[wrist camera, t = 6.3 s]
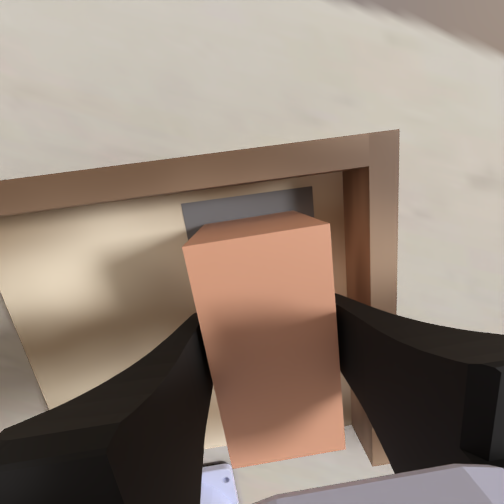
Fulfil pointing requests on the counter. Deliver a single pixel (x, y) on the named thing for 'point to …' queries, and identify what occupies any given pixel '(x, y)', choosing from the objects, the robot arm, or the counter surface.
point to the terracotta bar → (270, 334)
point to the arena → (181, 251)
